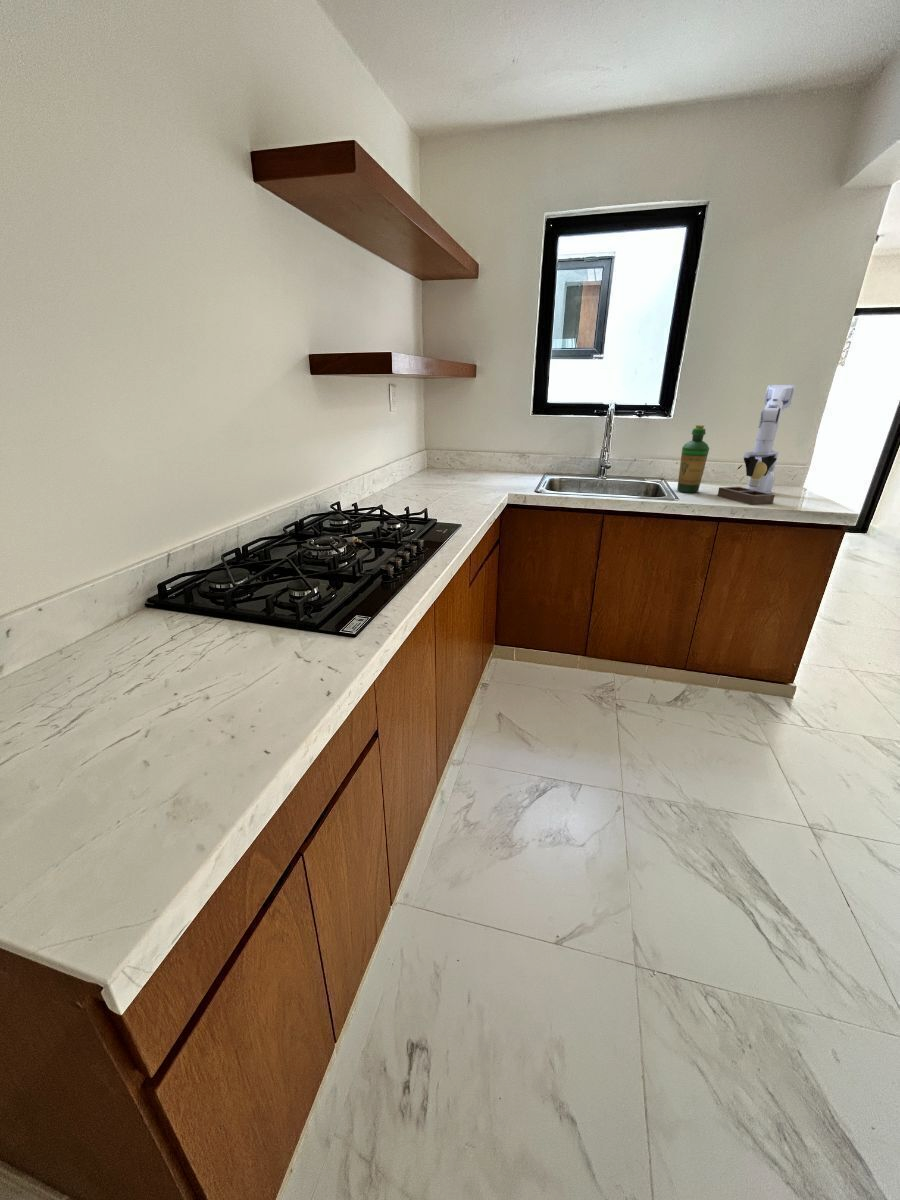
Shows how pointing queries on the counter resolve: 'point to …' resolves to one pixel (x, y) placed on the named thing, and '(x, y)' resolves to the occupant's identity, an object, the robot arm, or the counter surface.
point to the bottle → (693, 462)
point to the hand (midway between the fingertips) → (755, 475)
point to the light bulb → (757, 474)
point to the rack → (746, 495)
